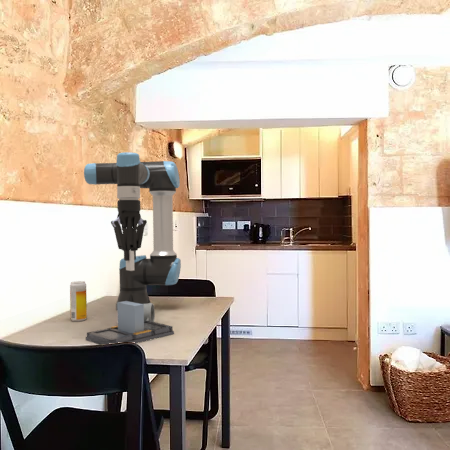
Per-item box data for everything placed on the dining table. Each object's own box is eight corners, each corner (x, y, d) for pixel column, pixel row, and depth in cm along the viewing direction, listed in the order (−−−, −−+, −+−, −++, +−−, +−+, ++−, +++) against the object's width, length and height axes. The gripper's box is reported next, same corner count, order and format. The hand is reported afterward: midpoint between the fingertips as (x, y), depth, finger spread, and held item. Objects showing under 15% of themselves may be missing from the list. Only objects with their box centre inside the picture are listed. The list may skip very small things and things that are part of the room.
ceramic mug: (134, 321, 178) (133, 301, 178) (155, 321, 178) (154, 301, 178) (127, 328, 167) (127, 307, 167) (150, 328, 167) (149, 307, 167)
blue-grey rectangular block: (117, 331, 156) (117, 302, 156) (126, 330, 159) (126, 301, 159) (135, 336, 149) (134, 305, 149) (144, 334, 152) (143, 304, 152)
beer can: (89, 319, 183) (89, 281, 183) (80, 322, 178) (79, 283, 178) (77, 318, 185) (76, 280, 185) (67, 321, 180) (66, 282, 180)
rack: (85, 339, 151) (85, 331, 151) (145, 327, 168) (145, 319, 168) (113, 348, 140) (112, 339, 140) (173, 334, 157) (173, 325, 157)
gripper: (118, 198, 146) (119, 273, 147) (151, 199, 156) (152, 269, 156) (105, 199, 151) (107, 271, 152) (138, 200, 161) (139, 267, 161)
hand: (130, 270), depth 154 cm, fingers closed
